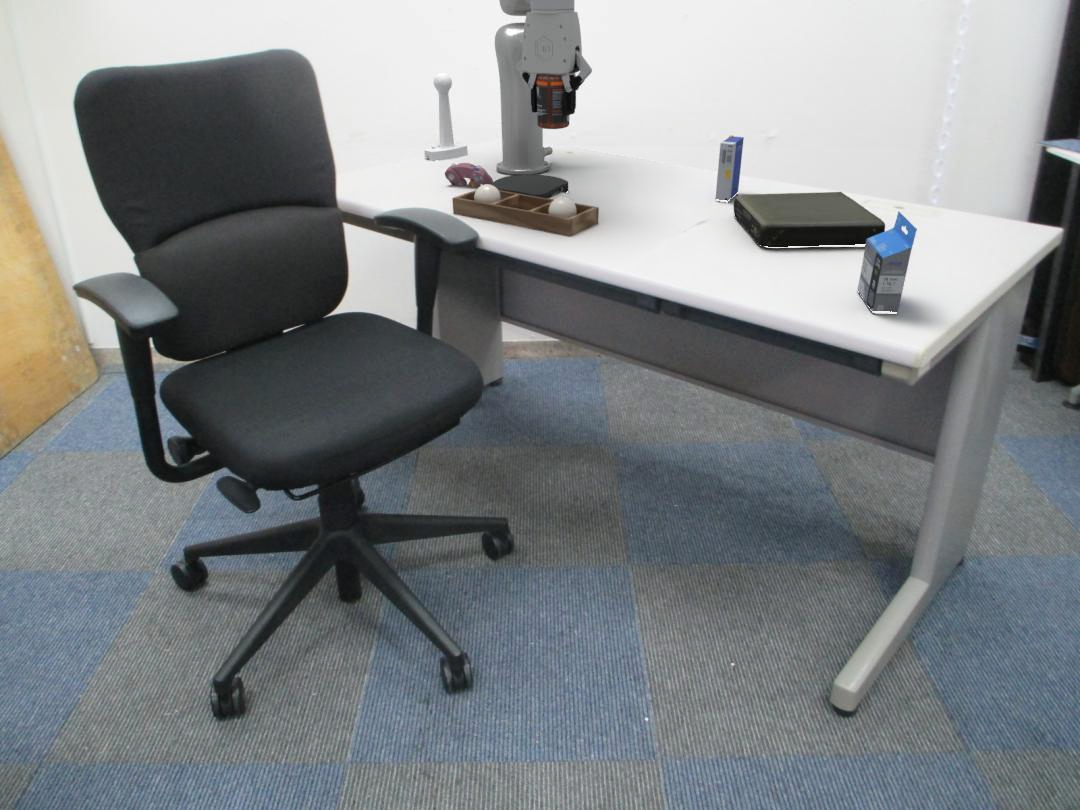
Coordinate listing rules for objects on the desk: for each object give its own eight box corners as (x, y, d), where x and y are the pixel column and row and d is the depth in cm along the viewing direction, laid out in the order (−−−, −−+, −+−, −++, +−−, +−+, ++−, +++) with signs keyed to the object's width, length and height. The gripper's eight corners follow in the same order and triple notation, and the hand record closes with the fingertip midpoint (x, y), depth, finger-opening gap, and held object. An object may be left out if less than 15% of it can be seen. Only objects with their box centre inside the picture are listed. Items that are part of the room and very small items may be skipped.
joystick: (434, 161, 203) (427, 75, 194) (417, 157, 208) (410, 72, 199) (470, 155, 210) (466, 71, 200) (453, 150, 215) (448, 68, 205)
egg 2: (558, 219, 155) (558, 192, 152) (581, 224, 152) (582, 196, 150) (542, 226, 151) (542, 198, 149) (566, 231, 148) (566, 202, 146)
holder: (484, 206, 167) (483, 187, 165) (598, 227, 153) (598, 207, 151) (453, 217, 160) (452, 197, 158) (569, 240, 146) (570, 219, 144)
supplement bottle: (576, 126, 151) (576, 60, 145) (555, 131, 147) (555, 63, 142) (551, 122, 154) (551, 57, 149) (530, 127, 150) (529, 61, 145)
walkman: (724, 192, 174) (730, 134, 168) (737, 194, 173) (744, 135, 167) (714, 201, 168) (719, 141, 162) (727, 203, 166) (733, 142, 161)
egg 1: (485, 206, 164) (484, 180, 161) (506, 210, 161) (505, 183, 159) (469, 212, 160) (467, 185, 158) (490, 216, 157) (489, 189, 155)
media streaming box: (517, 183, 184) (516, 170, 183) (574, 191, 178) (574, 177, 177) (481, 199, 173) (480, 184, 172) (541, 207, 167) (541, 192, 165)
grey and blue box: (855, 291, 123) (870, 210, 117) (882, 292, 122) (898, 210, 117) (870, 314, 115) (887, 228, 109) (899, 315, 115) (918, 229, 109)
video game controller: (448, 194, 182) (439, 169, 176) (455, 181, 184) (447, 155, 178) (488, 198, 178) (481, 172, 173) (496, 184, 181) (489, 158, 175)
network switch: (896, 249, 141) (901, 220, 139) (767, 258, 138) (770, 229, 135) (831, 212, 161) (835, 186, 159) (717, 219, 158) (720, 193, 156)
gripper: (499, 3, 142) (502, 112, 151) (584, 5, 134) (583, 120, 143) (523, 1, 148) (525, 106, 156) (607, 2, 139) (604, 113, 148)
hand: (553, 111), depth 149 cm, fingers closed on supplement bottle, 6 cm apart
